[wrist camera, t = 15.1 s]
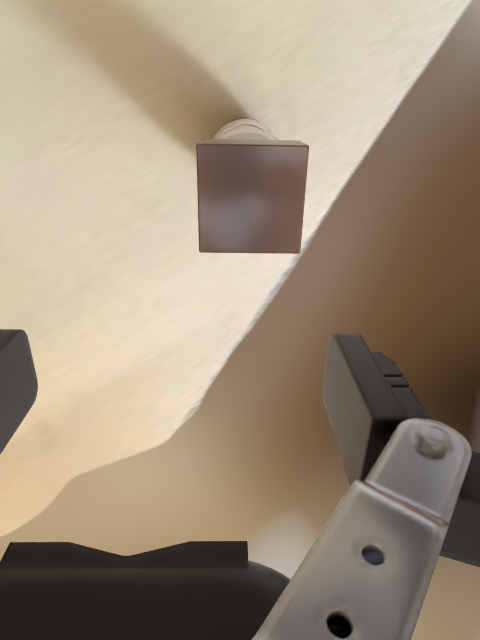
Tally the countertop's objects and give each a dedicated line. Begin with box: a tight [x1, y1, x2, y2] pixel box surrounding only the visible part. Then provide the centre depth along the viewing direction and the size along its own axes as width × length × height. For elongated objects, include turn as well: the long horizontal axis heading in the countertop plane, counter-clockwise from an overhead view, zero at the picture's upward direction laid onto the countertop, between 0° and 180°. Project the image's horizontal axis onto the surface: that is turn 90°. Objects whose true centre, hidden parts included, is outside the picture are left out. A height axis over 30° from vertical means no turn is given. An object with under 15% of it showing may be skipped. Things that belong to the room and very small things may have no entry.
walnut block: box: [196, 139, 309, 254], centre depth 24 cm, size 6×6×3 cm
